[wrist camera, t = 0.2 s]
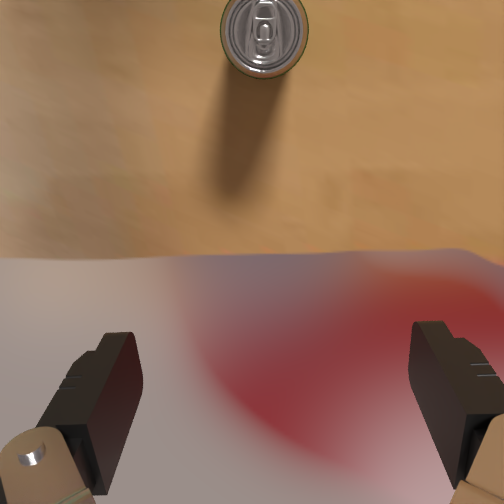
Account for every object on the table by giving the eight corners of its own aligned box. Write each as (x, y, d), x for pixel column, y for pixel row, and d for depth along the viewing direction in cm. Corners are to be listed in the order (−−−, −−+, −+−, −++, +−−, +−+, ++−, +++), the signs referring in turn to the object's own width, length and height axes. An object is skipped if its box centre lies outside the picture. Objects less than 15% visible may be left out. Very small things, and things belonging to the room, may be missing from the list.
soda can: (232, 68, 37) (219, 80, 26) (231, -3, 35) (216, -22, 24) (295, 68, 37) (308, 81, 26) (298, -3, 35) (313, -22, 24)
